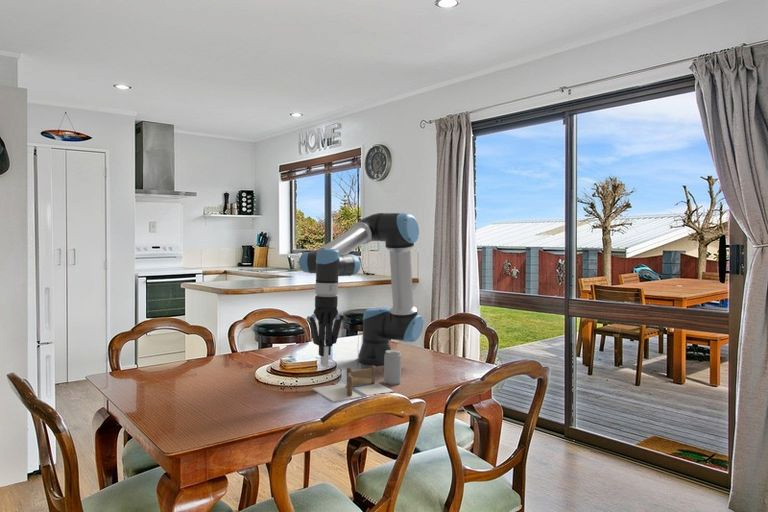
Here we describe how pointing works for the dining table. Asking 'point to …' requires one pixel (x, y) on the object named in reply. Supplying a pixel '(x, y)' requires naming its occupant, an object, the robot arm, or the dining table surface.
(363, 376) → the fence fixed
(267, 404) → the dining table surface
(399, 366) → the beverage can
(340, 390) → the card
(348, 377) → the fence panel
